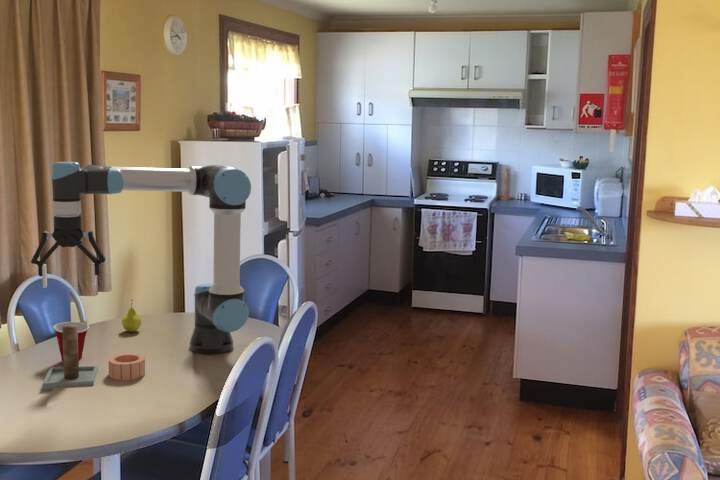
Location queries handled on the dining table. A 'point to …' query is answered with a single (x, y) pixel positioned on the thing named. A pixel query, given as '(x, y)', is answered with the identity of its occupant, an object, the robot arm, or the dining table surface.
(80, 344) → the plastic cup
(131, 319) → the fruit
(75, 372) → the dowel
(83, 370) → the dish
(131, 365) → the pink brick ring
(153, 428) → the dining table surface
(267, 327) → the dining table surface
